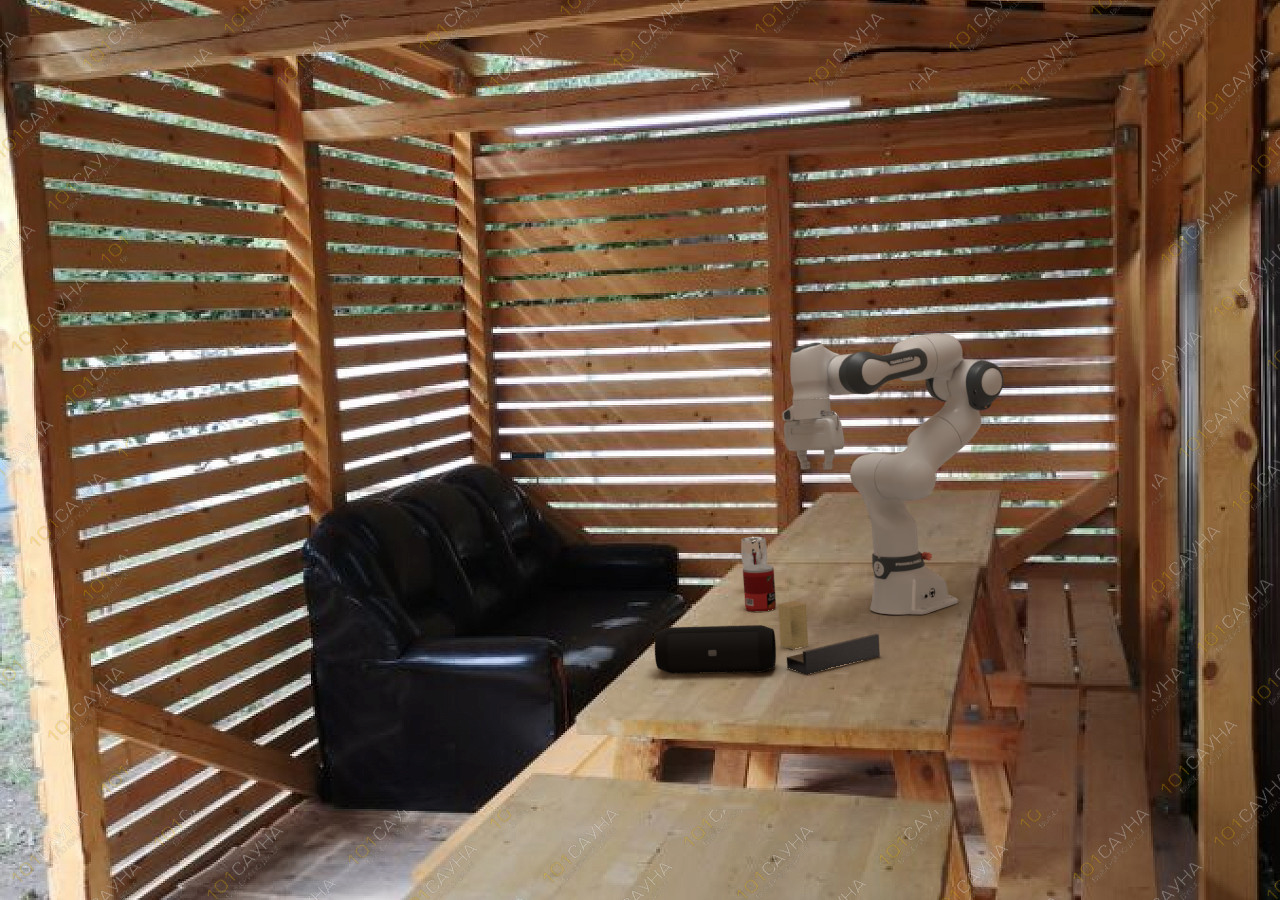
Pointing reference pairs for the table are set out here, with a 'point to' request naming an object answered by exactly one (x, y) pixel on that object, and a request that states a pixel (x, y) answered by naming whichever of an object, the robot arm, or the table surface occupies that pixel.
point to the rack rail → (835, 654)
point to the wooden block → (793, 624)
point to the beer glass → (753, 551)
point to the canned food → (759, 587)
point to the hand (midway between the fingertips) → (816, 469)
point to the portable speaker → (715, 649)
